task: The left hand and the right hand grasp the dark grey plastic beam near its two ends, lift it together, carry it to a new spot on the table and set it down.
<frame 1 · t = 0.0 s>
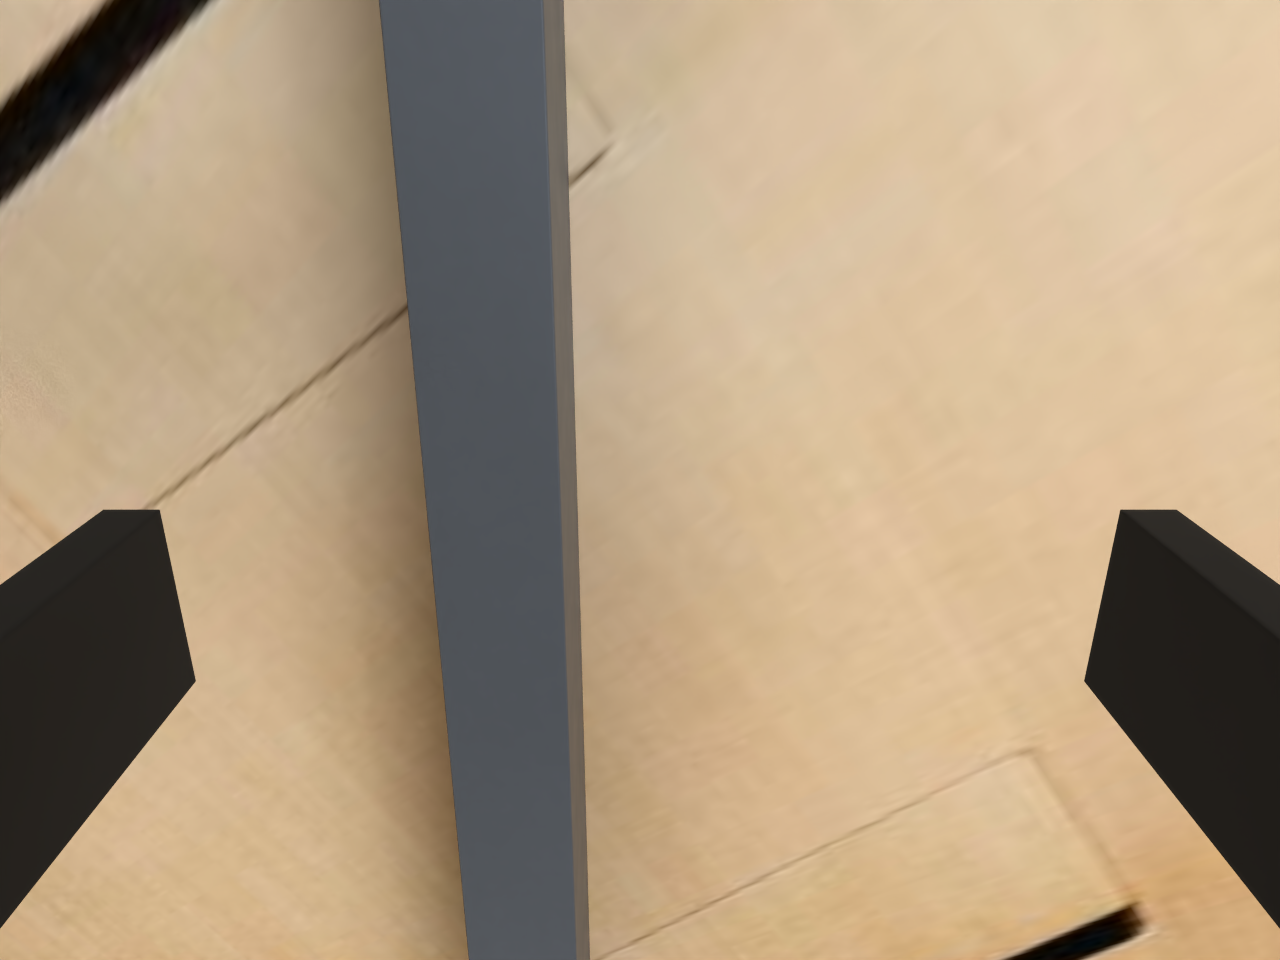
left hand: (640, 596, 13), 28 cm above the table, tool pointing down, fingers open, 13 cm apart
beam: (522, 484, 42), on the table
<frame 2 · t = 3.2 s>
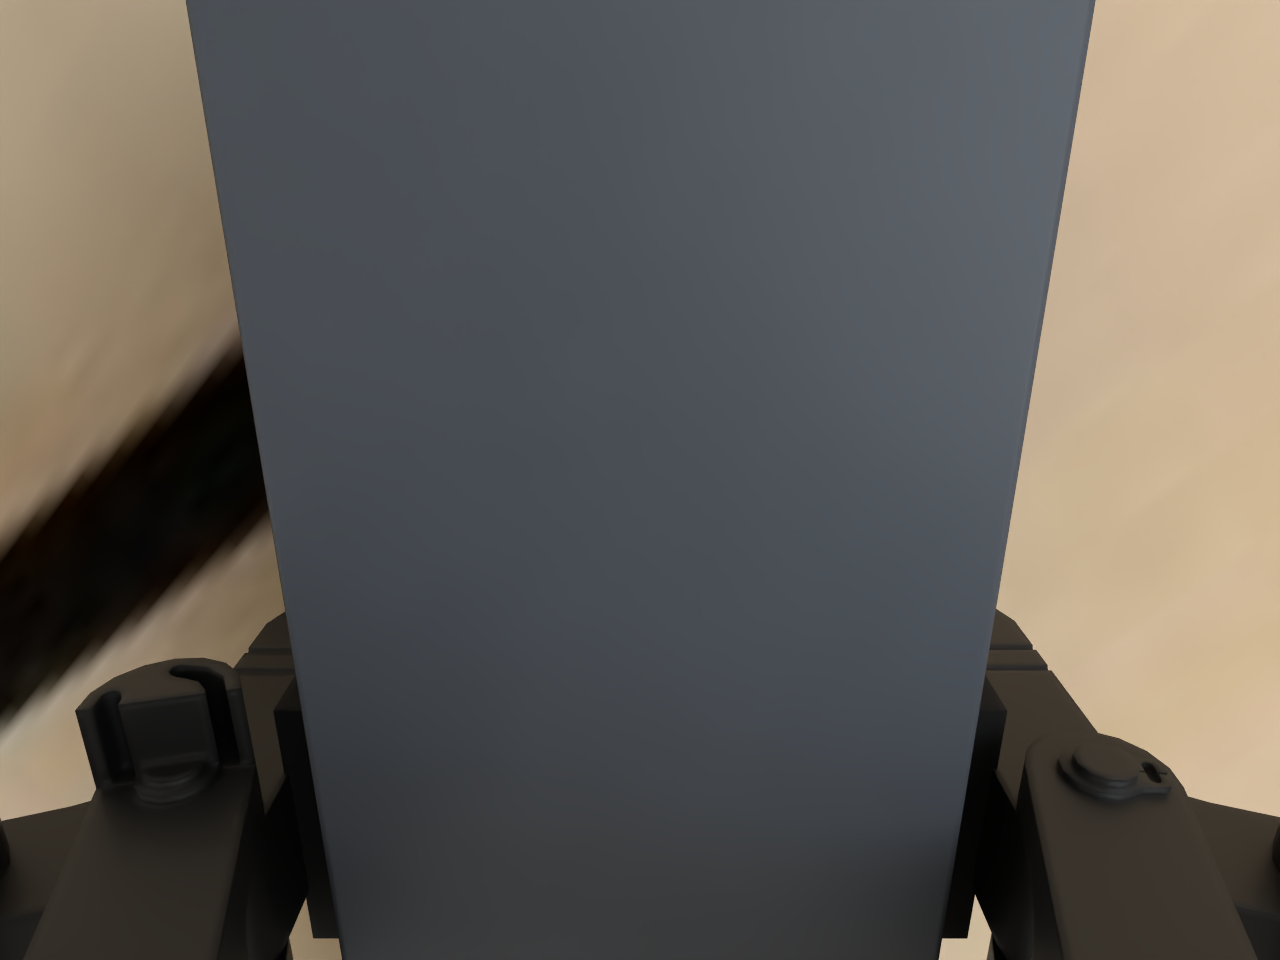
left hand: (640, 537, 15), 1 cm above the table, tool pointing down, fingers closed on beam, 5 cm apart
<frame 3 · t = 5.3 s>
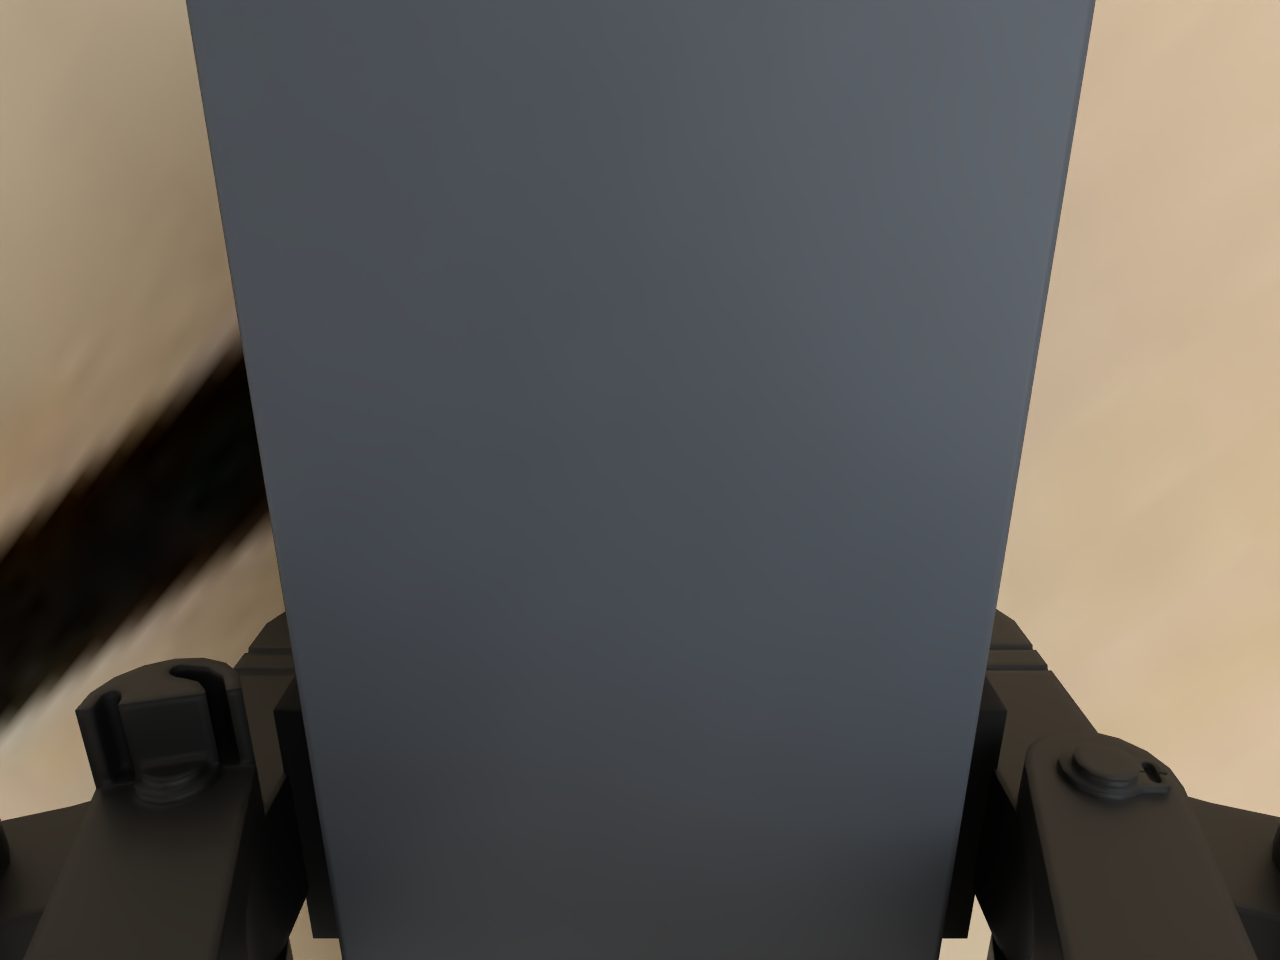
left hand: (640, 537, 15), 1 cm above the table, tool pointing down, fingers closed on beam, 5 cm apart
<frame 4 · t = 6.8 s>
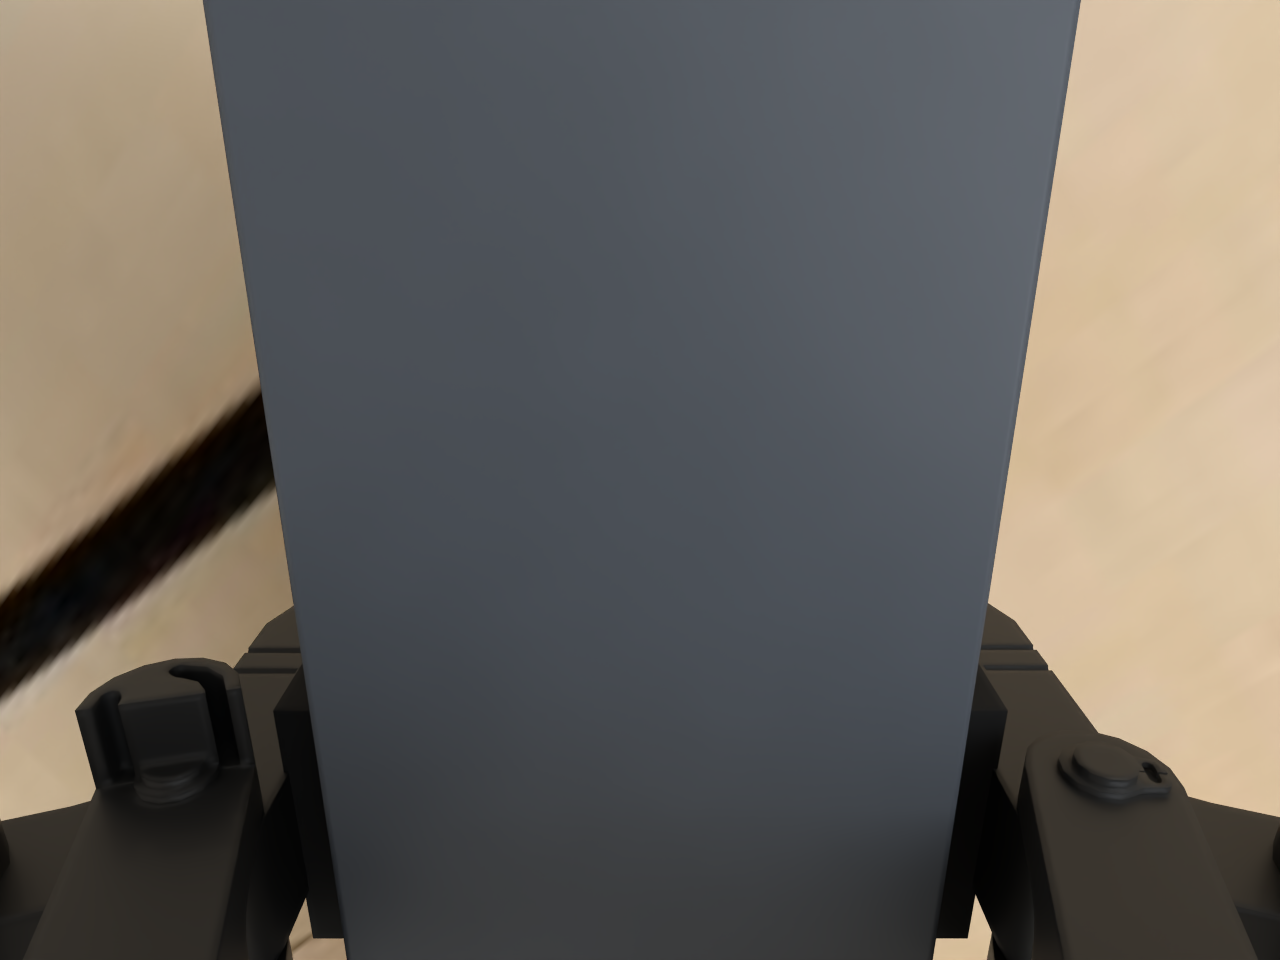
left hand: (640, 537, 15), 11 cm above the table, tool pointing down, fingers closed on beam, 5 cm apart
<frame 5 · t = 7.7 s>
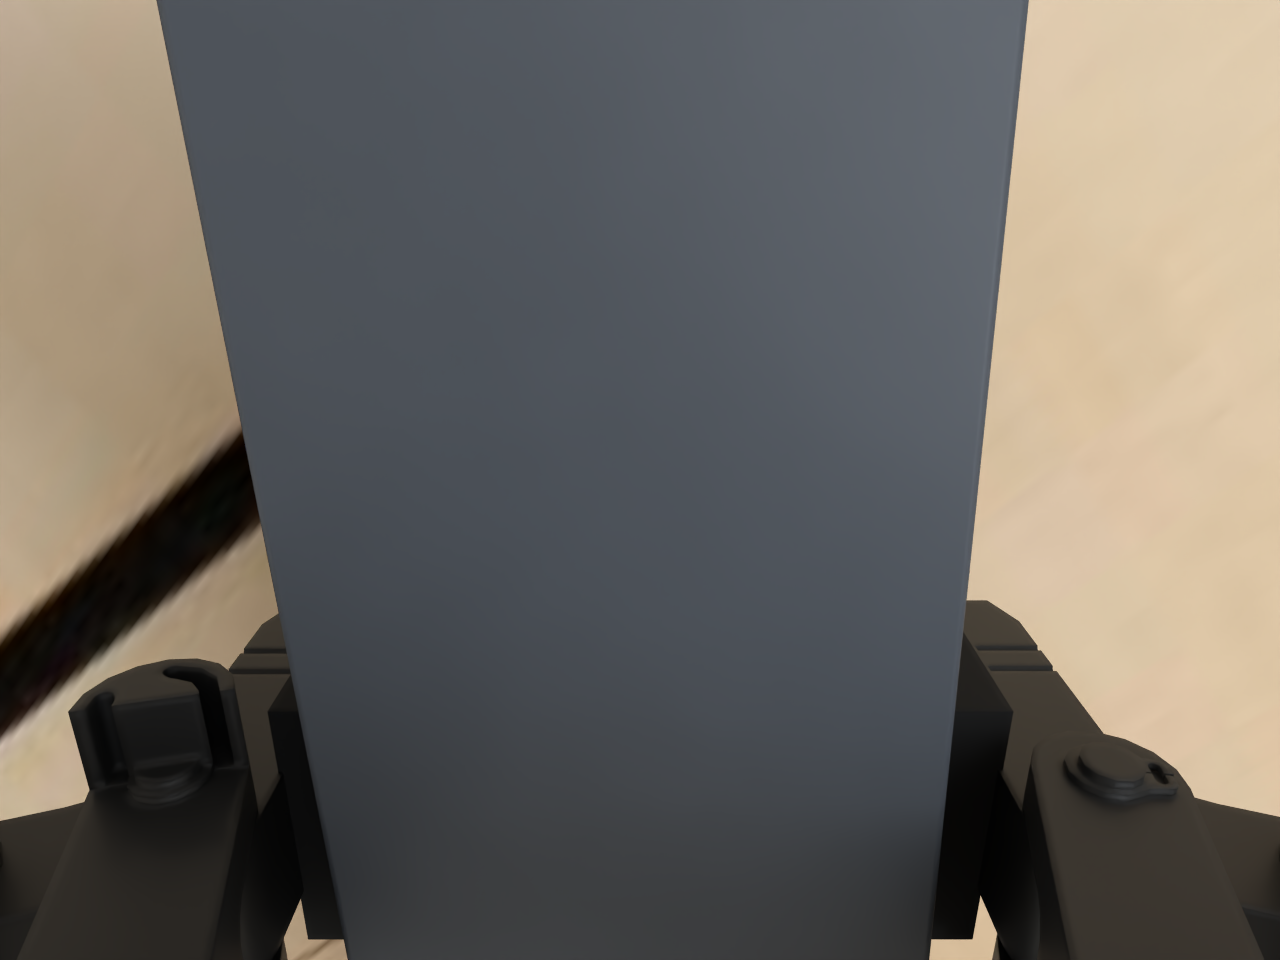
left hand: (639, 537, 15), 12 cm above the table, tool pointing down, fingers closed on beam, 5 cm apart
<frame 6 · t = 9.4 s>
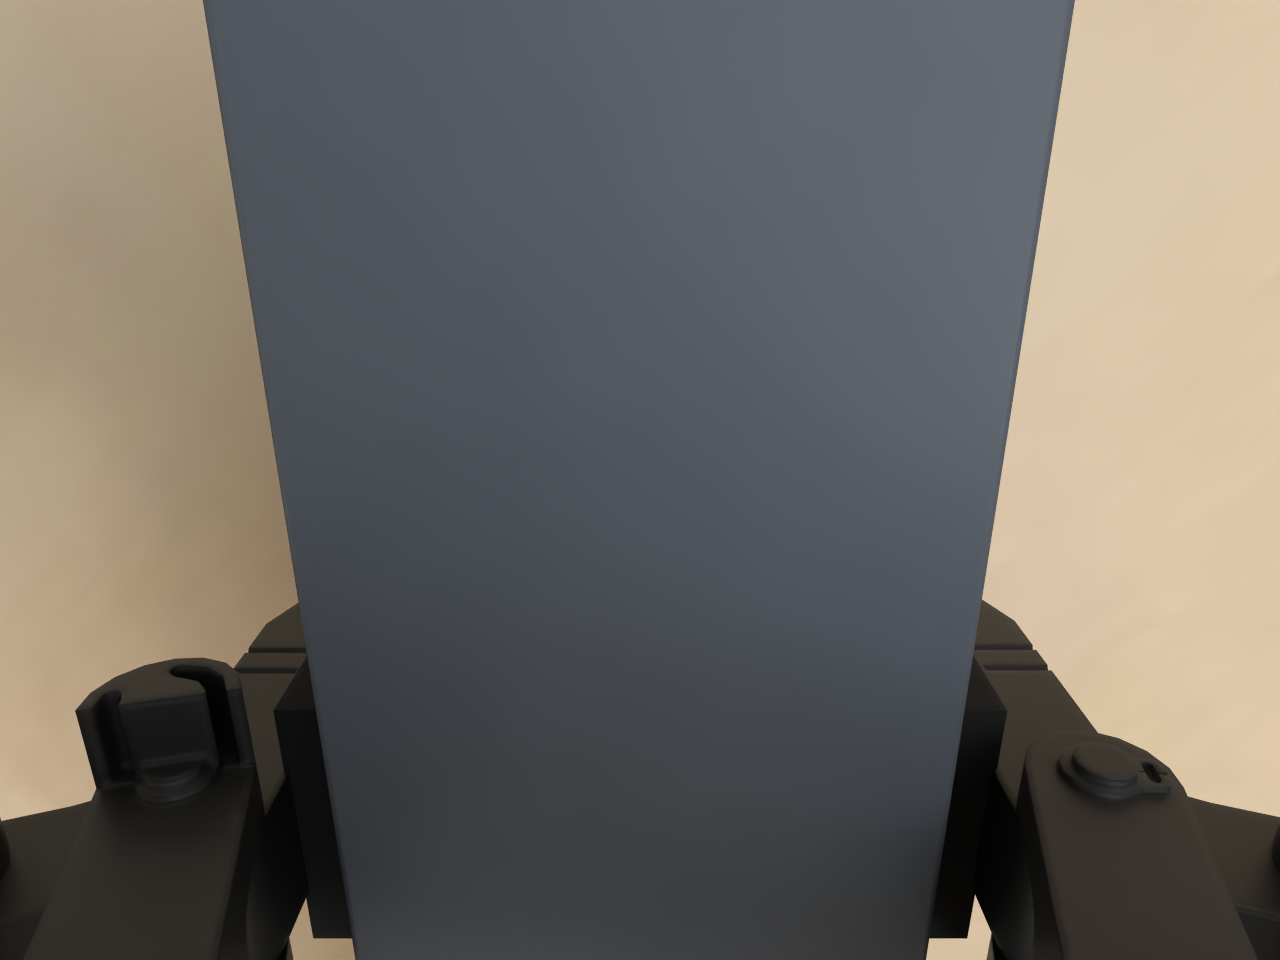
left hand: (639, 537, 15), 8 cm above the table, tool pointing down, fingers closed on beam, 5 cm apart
when the left hand's fingers open (2 cm above the table, at t = 10.4 s): beam stays where it is, on the table.
when the right hand's fingers open (4 cm above the table, at t = 10.6 s): beam stays where it is, on the table.
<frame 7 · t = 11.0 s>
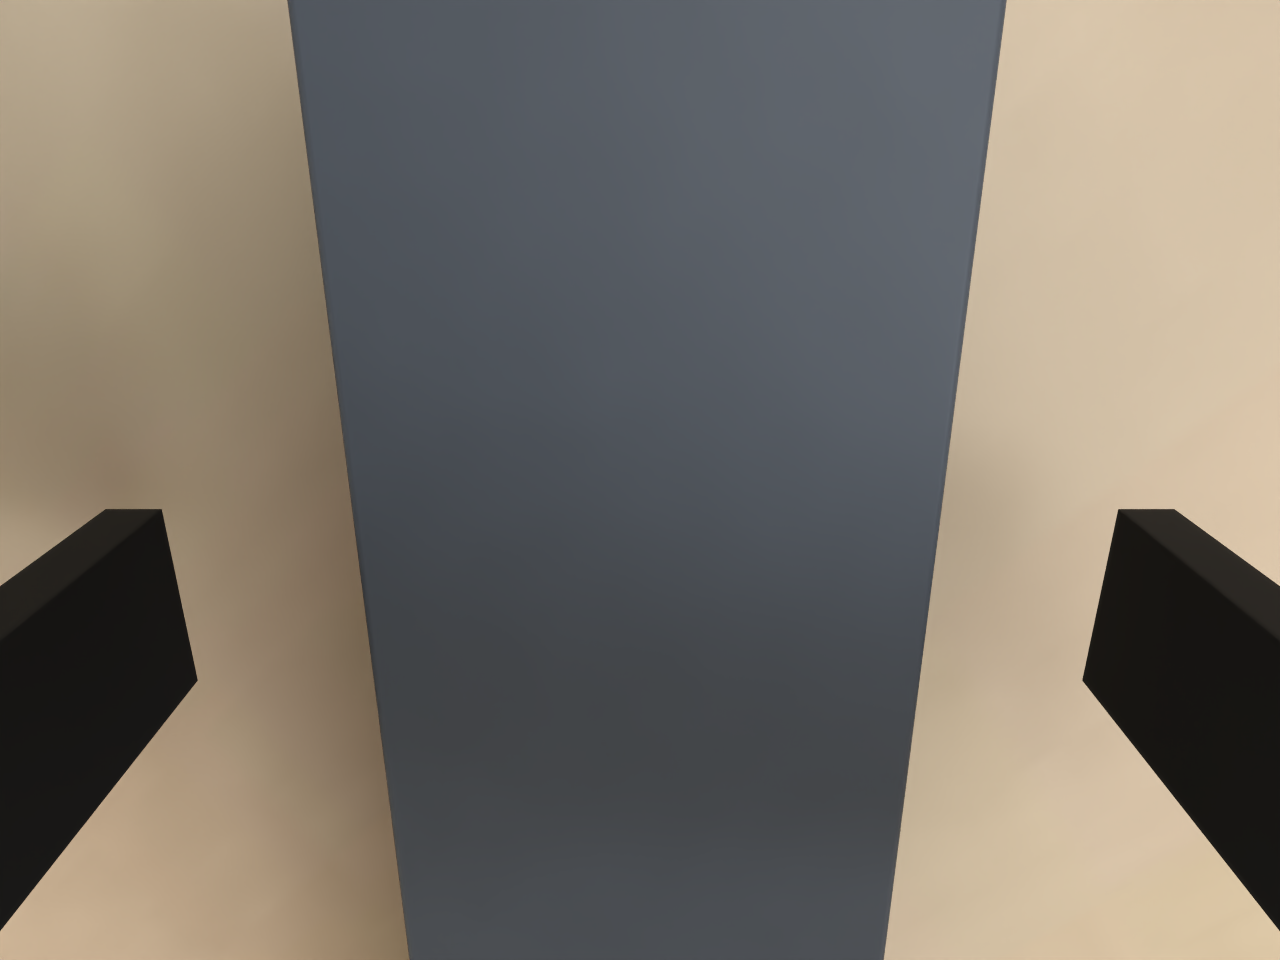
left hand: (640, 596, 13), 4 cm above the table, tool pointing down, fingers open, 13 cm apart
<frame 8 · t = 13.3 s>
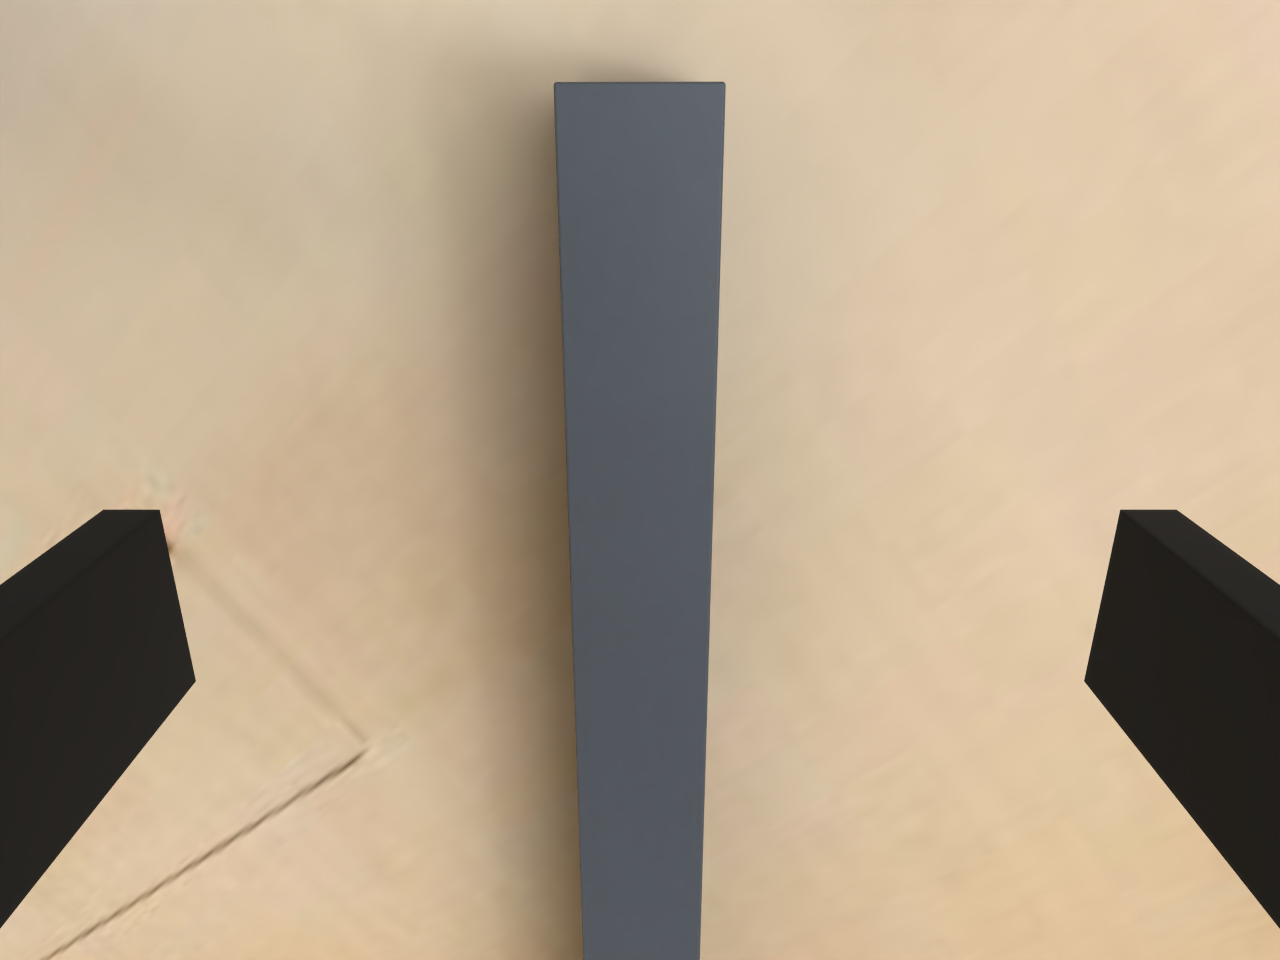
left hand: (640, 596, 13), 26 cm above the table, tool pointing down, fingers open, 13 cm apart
beam: (641, 768, 46), on the table
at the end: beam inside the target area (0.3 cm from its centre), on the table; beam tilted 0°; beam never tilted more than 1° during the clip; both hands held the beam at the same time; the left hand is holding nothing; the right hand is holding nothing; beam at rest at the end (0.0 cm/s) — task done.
